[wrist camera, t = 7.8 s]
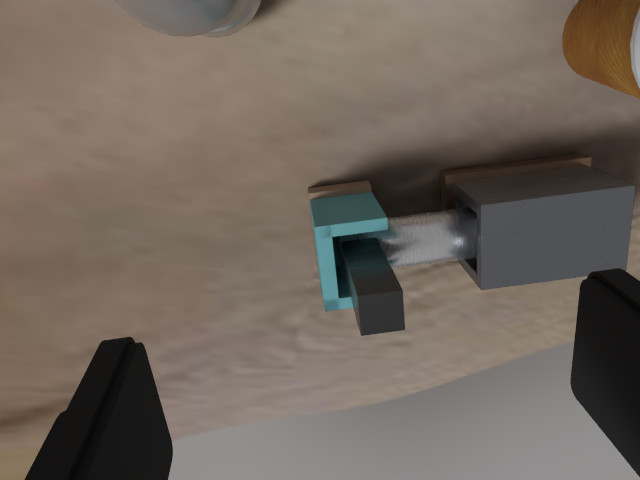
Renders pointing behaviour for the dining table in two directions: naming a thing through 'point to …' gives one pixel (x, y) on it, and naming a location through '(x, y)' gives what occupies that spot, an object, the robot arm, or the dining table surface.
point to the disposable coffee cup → (605, 43)
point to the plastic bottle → (192, 15)
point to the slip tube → (400, 261)
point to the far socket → (340, 232)
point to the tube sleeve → (541, 219)
